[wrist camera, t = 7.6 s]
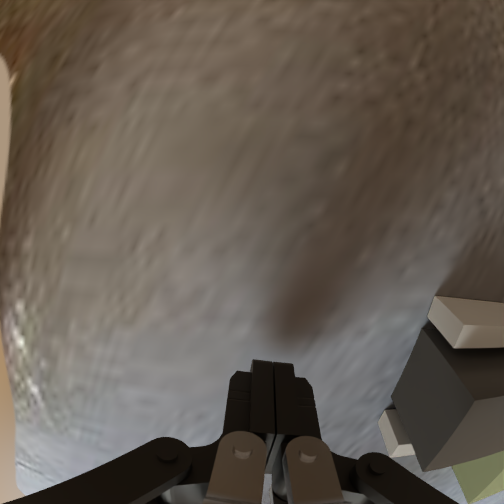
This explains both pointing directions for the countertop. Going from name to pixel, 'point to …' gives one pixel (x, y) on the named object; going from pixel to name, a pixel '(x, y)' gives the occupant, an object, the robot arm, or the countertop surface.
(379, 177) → the countertop surface
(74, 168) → the countertop surface
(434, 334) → the dark grey box
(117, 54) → the countertop surface
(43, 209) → the countertop surface
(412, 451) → the two-prong plug
